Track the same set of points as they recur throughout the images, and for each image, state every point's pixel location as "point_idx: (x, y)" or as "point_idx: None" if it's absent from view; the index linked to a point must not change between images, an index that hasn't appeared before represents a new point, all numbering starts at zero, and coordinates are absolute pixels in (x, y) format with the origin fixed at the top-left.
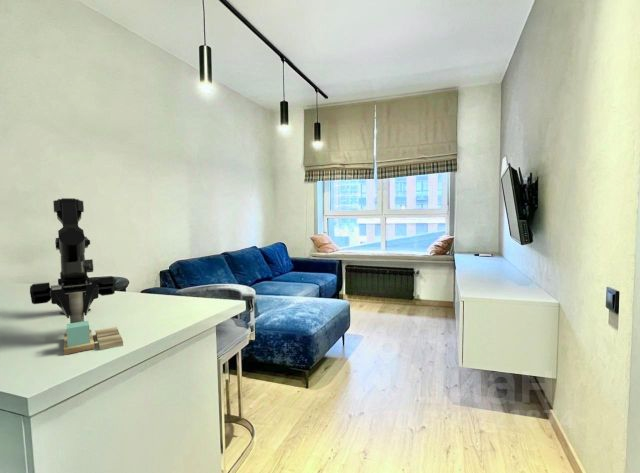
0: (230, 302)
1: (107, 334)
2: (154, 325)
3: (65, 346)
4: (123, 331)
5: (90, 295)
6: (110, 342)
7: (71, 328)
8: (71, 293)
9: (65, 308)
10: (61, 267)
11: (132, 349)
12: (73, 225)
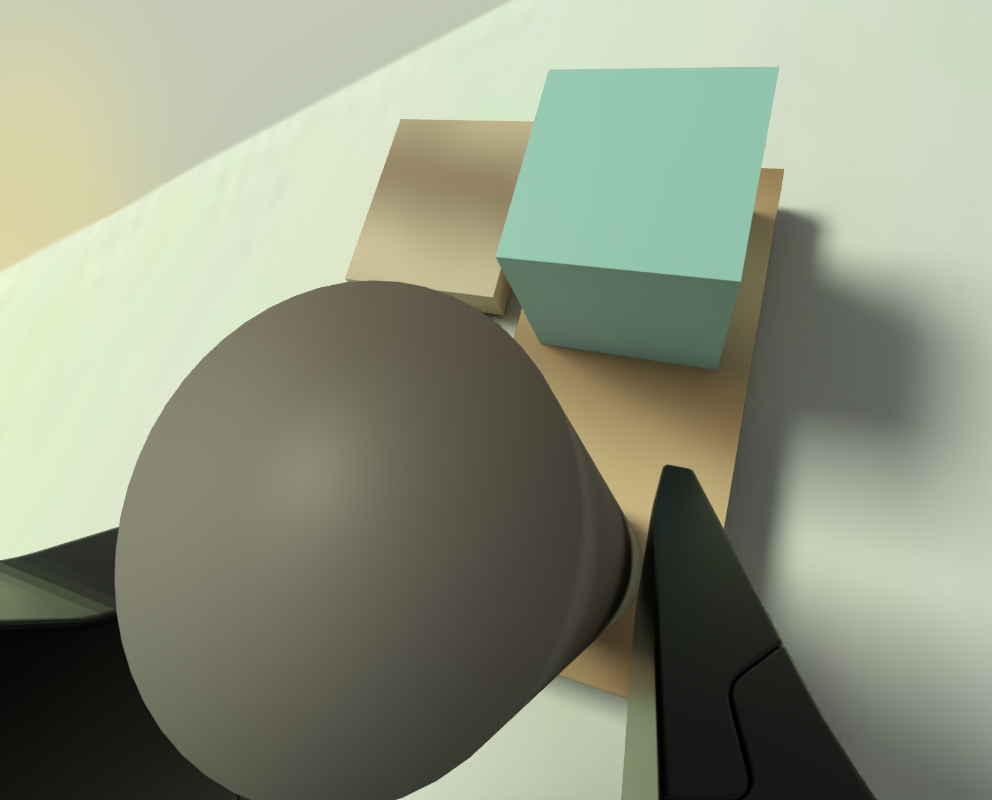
0: None
1: None
2: (79, 447)
3: (758, 243)
4: None
5: (75, 556)
6: (468, 134)
7: (724, 71)
8: (455, 566)
9: (710, 551)
10: None
11: (409, 65)
12: None
